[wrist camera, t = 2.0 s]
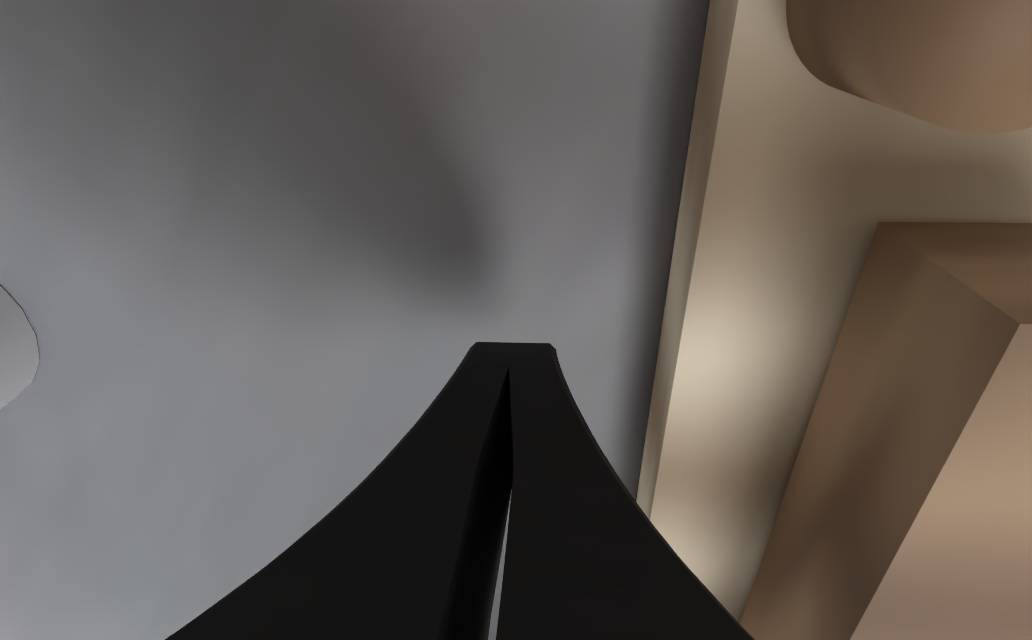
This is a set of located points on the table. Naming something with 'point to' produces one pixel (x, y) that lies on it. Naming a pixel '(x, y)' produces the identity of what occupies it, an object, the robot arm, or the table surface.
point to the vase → (15, 350)
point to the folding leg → (915, 453)
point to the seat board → (809, 230)
